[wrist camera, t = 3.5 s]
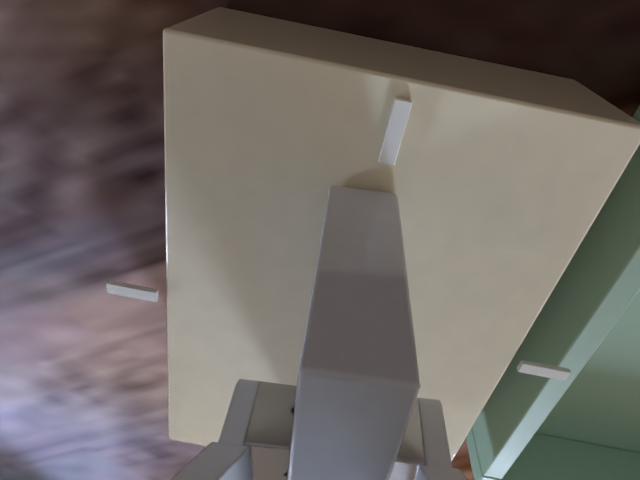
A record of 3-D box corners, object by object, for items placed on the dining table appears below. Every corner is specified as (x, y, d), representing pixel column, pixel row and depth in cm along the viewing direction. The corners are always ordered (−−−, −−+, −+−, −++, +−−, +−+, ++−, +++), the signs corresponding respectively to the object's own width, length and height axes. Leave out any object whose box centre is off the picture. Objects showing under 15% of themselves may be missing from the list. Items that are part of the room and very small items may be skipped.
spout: (329, 183, 10) (295, 385, 6) (398, 192, 10) (425, 403, 6) (300, 424, 15) (268, 642, 11) (347, 430, 15) (337, 651, 11)
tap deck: (158, -7, 12) (75, 12, 9) (632, 91, 13) (733, 146, 9) (165, 350, 20) (122, 435, 16) (459, 406, 20) (479, 502, 17)
